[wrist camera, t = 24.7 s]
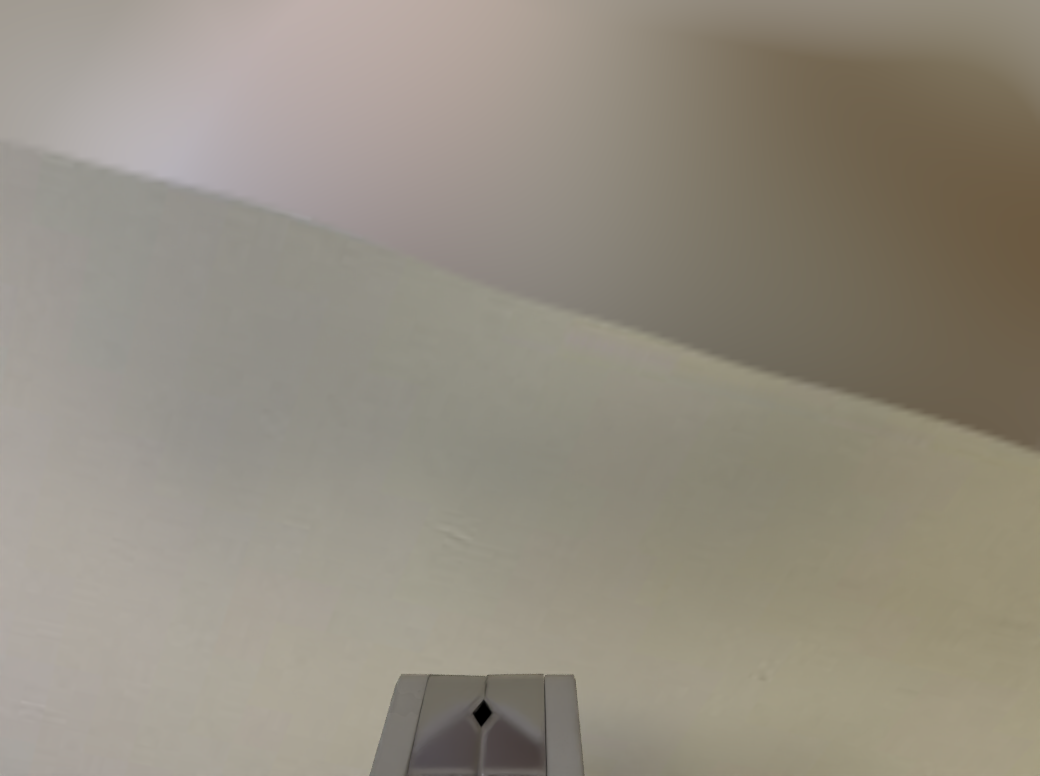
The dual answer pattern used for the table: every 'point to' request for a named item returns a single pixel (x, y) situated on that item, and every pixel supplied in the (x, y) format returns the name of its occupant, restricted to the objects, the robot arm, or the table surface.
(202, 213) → the table surface
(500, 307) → the table surface
